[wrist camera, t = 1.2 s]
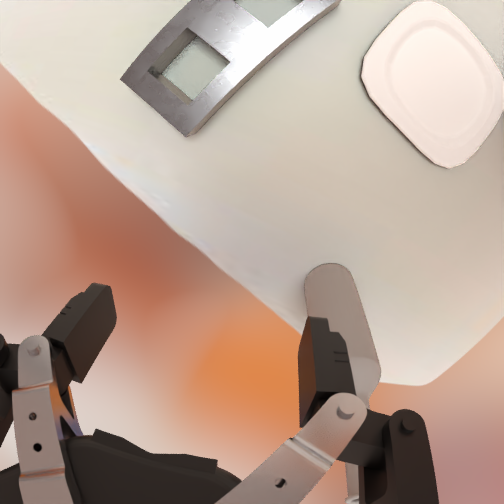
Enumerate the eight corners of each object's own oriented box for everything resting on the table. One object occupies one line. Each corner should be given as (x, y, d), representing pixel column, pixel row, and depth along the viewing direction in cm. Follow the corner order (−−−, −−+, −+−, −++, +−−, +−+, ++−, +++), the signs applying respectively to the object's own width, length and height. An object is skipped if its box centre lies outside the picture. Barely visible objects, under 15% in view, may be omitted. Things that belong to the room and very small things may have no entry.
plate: (443, 182, 32) (450, 186, 30) (339, 78, 28) (342, 76, 26) (510, 93, 24) (517, 94, 23) (420, -12, 20) (426, -16, 19)
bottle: (294, 290, 40) (299, 508, 15) (324, 254, 37) (370, 484, 12) (331, 311, 41) (360, 511, 17) (362, 278, 38) (425, 484, 14)
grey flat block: (271, -46, 20) (270, -61, 17) (337, 5, 23) (345, -6, 20) (136, 80, 29) (119, 79, 25) (195, 133, 32) (185, 137, 28)
